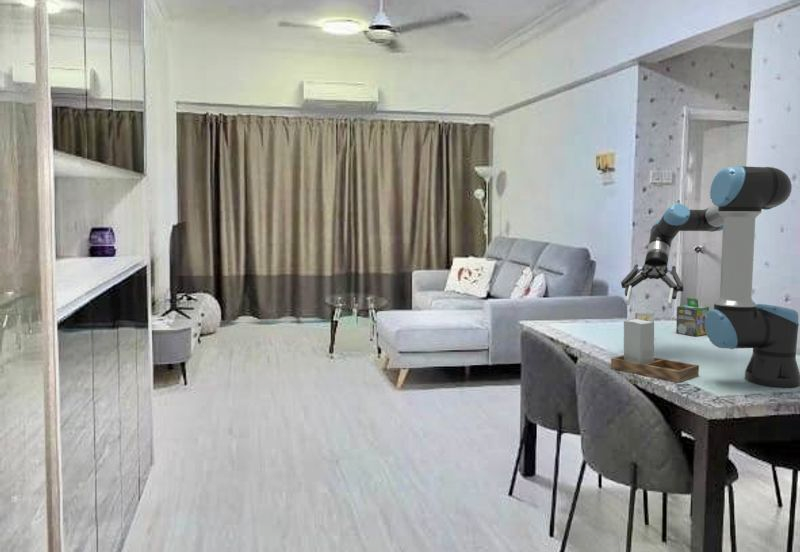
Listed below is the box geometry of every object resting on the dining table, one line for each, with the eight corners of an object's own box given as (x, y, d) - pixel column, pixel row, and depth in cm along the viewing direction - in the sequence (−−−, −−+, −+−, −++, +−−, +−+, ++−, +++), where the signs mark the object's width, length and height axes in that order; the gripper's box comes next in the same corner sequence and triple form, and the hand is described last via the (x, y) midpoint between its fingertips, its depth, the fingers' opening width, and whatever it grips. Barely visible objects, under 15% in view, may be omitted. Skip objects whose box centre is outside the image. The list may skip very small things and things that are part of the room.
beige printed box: (633, 336, 283) (634, 312, 282) (651, 337, 282) (652, 312, 281) (635, 338, 279) (636, 313, 278) (653, 339, 278) (654, 314, 277)
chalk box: (708, 334, 289) (710, 298, 287) (695, 337, 284) (697, 300, 282) (688, 331, 297) (690, 296, 295) (675, 333, 291) (677, 297, 290)
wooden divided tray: (698, 375, 221) (699, 365, 221) (678, 382, 213) (678, 371, 212) (632, 362, 239) (632, 352, 238) (610, 368, 230) (611, 358, 230)
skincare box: (654, 367, 227) (656, 322, 226) (639, 369, 225) (642, 323, 223) (635, 362, 235) (637, 317, 233) (621, 363, 233) (623, 319, 231)
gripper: (695, 265, 246) (688, 313, 235) (622, 262, 258) (612, 308, 246) (694, 251, 241) (687, 299, 229) (619, 248, 253) (609, 294, 241)
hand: (648, 304), depth 238 cm, fingers open, 13 cm apart
